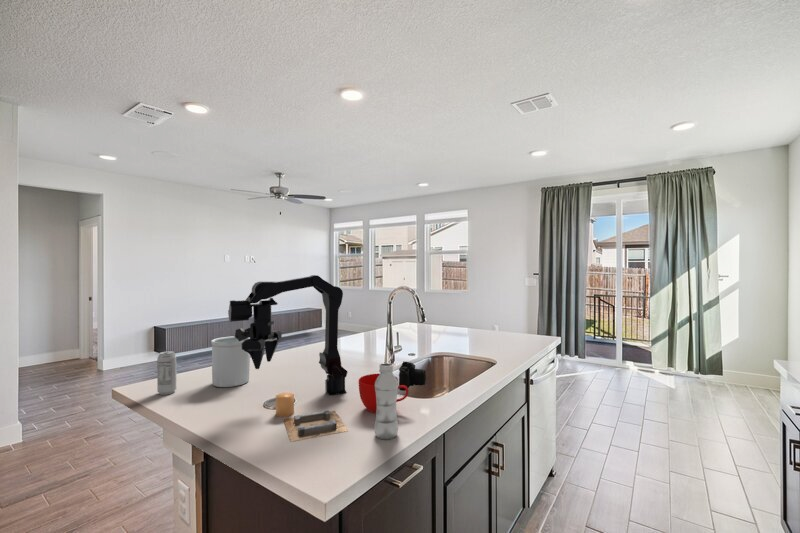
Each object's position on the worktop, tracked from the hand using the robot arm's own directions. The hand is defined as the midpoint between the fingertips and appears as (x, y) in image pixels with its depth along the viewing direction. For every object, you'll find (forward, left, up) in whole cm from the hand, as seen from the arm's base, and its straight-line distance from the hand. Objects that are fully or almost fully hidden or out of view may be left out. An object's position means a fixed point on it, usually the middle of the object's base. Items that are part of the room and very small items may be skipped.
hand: (263, 365), depth 126 cm
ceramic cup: (-36, +20, -14) cm, 43 cm away
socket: (-13, +23, -14) cm, 30 cm away
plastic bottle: (-30, +38, -14) cm, 50 cm away
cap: (-6, +10, -14) cm, 18 cm away
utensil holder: (+10, -33, -14) cm, 37 cm away
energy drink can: (+32, -29, -14) cm, 45 cm away
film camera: (-55, +1, -14) cm, 57 cm away
